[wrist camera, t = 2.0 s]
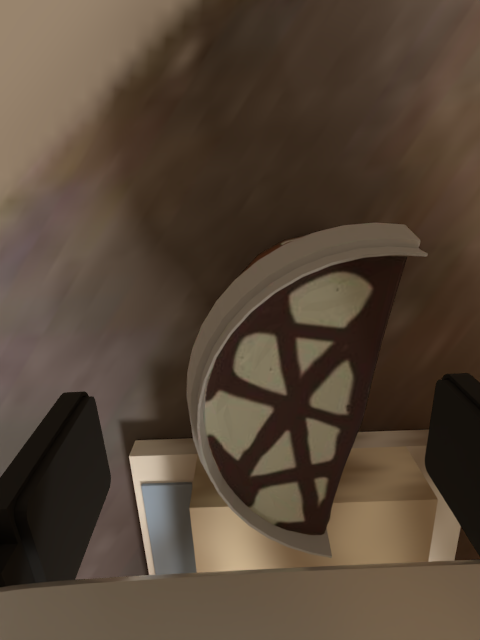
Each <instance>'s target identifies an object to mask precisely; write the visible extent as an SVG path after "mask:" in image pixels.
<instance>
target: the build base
mask: <svg viewBox="0 0 480 640" xmlns="http://www.w3.org/2000/svg"><path fill="white" fill-rule="evenodd" d="M428 433H429V429H428V430H401V431H374V432H358V434H357V436H356V439H355V442H354V444H353V447H352V449H351V452H350V454H349V457H348V459H347V462H346V464H345V467H344V470H343V473H342V476H341V479H340V482H339V485H338V488H337V491H336V494H335V498H334V501H333V505H332V509H331V516H330V520H329V522H328V524H327V533H328V538H329V543H330V548H331V553H332V558H329V557H323V556H318V555H312V554H308V553H305V552H302V551H298V550H295V549H292V548H289V547H286V546H284V545H282V544H280V543H278V542H276V541H273V540H271V539H269V538H267V537H266V536H264V535H262V534H261V533H259V532H258V531H256V530H255V529H253V528H252V527H250V526H249V525H248V524H246V523H245V522H244V521H243V520H242V519H241V518H240V517H239V516H237V515H236V514H235V513H234V512H233V511H232V510H231V509H230V508H229V506H228V505H227V504H226V503H225V501H224V500H223V499H222V498H221V496H220V495H219V494H218V492H217V490H216V489H215V487H214V485H213V483H212V482H211V480H210V478H209V476H208V474H207V473H206V471H205V469H204V467H203V465H202V464H201V461H200V458H199V456H198V453H197V450H196V447H195V444H194V441H193V438H186V439H159V440H135V442H134V445H133V448H132V450H131V453H130V455H129V460H130V465H131V471H132V477H133V483H134V489H135V495H136V501H137V507H138V512H139V518H140V524H141V530H142V536H143V542H144V548H145V554H146V559H147V565H148V571H149V575H162V574H180V573H199V572H217V571H236V570H256V569H277V568H297V567H318V566H339V565H361V564H384V563H407V562H431V561H454V560H455V554H456V549H457V544H458V538H459V533H460V528H461V526H460V524H459V522H458V521H457V519H456V518H455V516H454V514H453V513H452V511H451V510H450V508H449V506H448V505H447V503H446V502H445V500H444V498H443V497H442V495H441V494H440V492H439V490H438V489H437V487H436V486H435V484H434V482H433V481H432V479H431V478H430V476H429V475H428V473H427V470H426V467H425V453H426V447H427V440H428Z"/></svg>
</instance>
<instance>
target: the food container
mask: <svg viewBox="0 0 480 640" xmlns="http://www.w3.org/2000/svg"><path fill="white" fill-rule="evenodd" d="M420 241H421V240H420V239H419V238H418V237H417V236H416V235H415V234H414V233H413V232H412V231H411V230H410V229H409V228H408V227H407V226H406V225H405V224H390V223H364V224H352V225H343V226H339V227H335V228H330V229H326V230H322V231H318V232H314V233H311V234H309V235H305V236H301V237H296V238H291V239H287V240H283V241H282V242H280V243H278V244H276V245H275V246H273V247H271V248H269V249H268V250H266V251H264V252H262V253H260V254H259V255H258V256H257V257H256V258H255V259H254V260H253V261H252V262H251V263H250V264H249V265H248V266H247V268H246V269H245V270H244V271H243V272H242V273H241V274H240V275H239V277H238V278H236V279H235V280H234V281H233V283H232V284H231V285H230V286H229V287H228V288H227V289H226V291H225V292H224V293H223V294H222V295H221V296H220V298H219V299H218V300H217V301H216V302H215V304H214V306H213V307H212V309H211V311H210V312H209V314H208V315H207V317H206V319H205V320H204V322H203V324H202V326H201V328H200V331H199V333H198V336H197V338H196V341H195V343H194V346H193V348H192V352H191V357H190V362H189V367H188V371H187V403H188V409H189V416H190V422H191V428H192V435H193V441H194V444H195V447H196V450H197V453H198V456H199V458H200V461H201V464H202V465H203V467H204V469H205V471H206V473H207V474H208V476H209V478H210V480H211V482H212V483H213V485H214V487H215V489H216V490H217V492H218V494H219V495H220V496H221V498H222V499H223V500H224V501H225V503H226V504H227V505H228V506H229V508H230V509H231V510H232V511H233V512H234V513H235V514H236V515H237V516H239V517H240V518H241V519H242V520H243V521H244V522H245V523H246V524H248V525H249V526H250V527H252V528H253V529H255V530H256V531H258V532H259V533H261V534H262V535H264V536H266V537H267V538H269V539H271V540H273V541H276V542H278V543H280V544H282V545H284V546H286V547H289V548H292V549H295V550H298V551H302V552H305V553H308V554H312V555H318V556H323V557H329V558H332V553H331V548H330V543H329V538H328V533H327V524H328V522H329V520H330V516H331V509H332V505H333V501H334V498H335V494H336V491H337V488H338V485H339V482H340V479H341V476H342V473H343V470H344V467H345V464H346V462H347V459H348V457H349V454H350V452H351V449H352V447H353V444H354V442H355V439H356V436H357V434H358V431H359V428H360V426H361V423H362V420H363V417H364V413H365V409H366V405H367V401H368V397H369V392H370V388H371V383H372V378H373V374H374V370H375V366H376V362H377V359H378V355H379V351H380V347H381V343H382V339H383V336H384V333H385V329H386V326H387V322H388V319H389V316H390V312H391V309H392V306H393V302H394V299H395V296H396V292H397V289H398V286H399V282H400V279H401V276H402V272H403V269H404V266H405V262H406V259H407V256H423V257H427V255H428V253H426V252H424V251H422V250H420V249H419V248H418V247H419V245H420ZM406 255H407V256H406Z"/></svg>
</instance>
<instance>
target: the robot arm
mask: <svg viewBox="0 0 480 640" xmlns="http://www.w3.org/2000/svg"><path fill="white" fill-rule="evenodd" d="M425 467H426V470H427V473H428V475H429V476H430V478H431V479H432V481H433V482H434V484H435V486H436V487H437V489H438V490H439V492H440V494H441V495H442V497H443V498H444V500H445V502H446V503H447V505H448V506H449V508H450V510H451V511H452V513H453V514H454V516H455V518H456V519H457V521H458V522H459V524H460V526H461V527H462V529H463V530H464V532H465V534H466V535H467V537H468V538H469V540H470V542H471V543H472V545H473V546H474V548H475V549H476V551H477V553H478V554H479V556H480V383H479V382H478V381H477V380H476V379H475V378H474V377H473V376H471V375H470V374H468V373H461V374H446V375H444V376H443V378H442V380H438V381H437V383H436V387H435V394H434V400H433V407H432V414H431V420H430V427H429V433H428V440H427V447H426V453H425ZM110 482H111V475H110V470H109V465H108V460H107V455H106V450H105V445H104V440H103V436H102V431H101V426H100V421H99V416H98V411H97V406H96V402H95V399H94V397H89V396H88V394H87V393H86V392H67V393H63V394H62V395H61V396H60V397H59V399H58V400H57V401H56V403H55V404H54V406H53V407H52V408H51V410H50V411H49V412H48V414H47V415H46V416H45V418H44V419H43V420H42V422H41V423H40V425H39V426H38V427H37V429H36V430H35V431H34V433H33V434H32V435H31V437H30V438H29V440H28V441H27V442H26V444H25V445H24V446H23V448H22V449H21V450H20V452H19V453H18V454H17V456H16V457H15V458H14V460H13V461H12V463H11V464H10V465H9V467H8V468H7V469H6V471H5V472H4V473H3V475H2V476H1V477H0V640H480V559H479V560H455V561H431V562H407V563H384V564H361V565H339V566H318V567H297V568H277V569H256V570H236V571H217V572H199V573H180V574H162V575H143V576H125V577H109V578H94V579H78V580H75V578H76V575H77V573H78V570H79V567H80V565H81V562H82V559H83V557H84V554H85V552H86V549H87V546H88V544H89V541H90V538H91V536H92V533H93V530H94V528H95V525H96V522H97V520H98V517H99V514H100V512H101V509H102V507H103V504H104V501H105V499H106V496H107V493H108V491H109V488H110Z"/></svg>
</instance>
